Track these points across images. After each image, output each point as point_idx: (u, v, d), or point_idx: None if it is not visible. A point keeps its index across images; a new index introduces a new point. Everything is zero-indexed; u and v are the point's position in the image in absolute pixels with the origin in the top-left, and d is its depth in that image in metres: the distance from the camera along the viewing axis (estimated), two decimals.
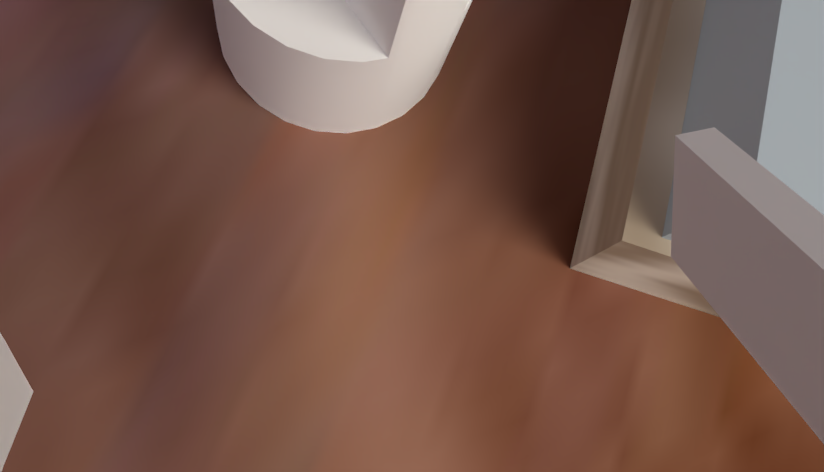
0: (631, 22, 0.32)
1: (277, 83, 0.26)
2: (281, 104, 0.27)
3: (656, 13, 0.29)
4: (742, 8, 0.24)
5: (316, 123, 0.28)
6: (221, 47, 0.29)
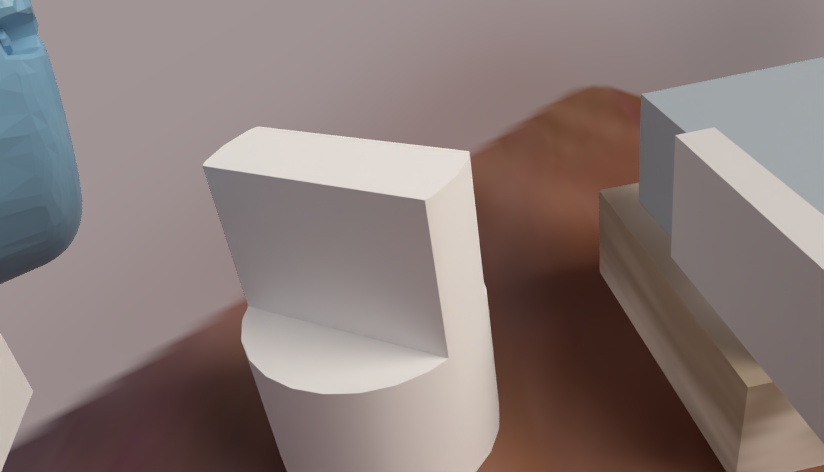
0: (617, 288, 0.35)
1: (366, 458, 0.26)
2: None
3: (628, 255, 0.33)
4: None
5: None
6: None
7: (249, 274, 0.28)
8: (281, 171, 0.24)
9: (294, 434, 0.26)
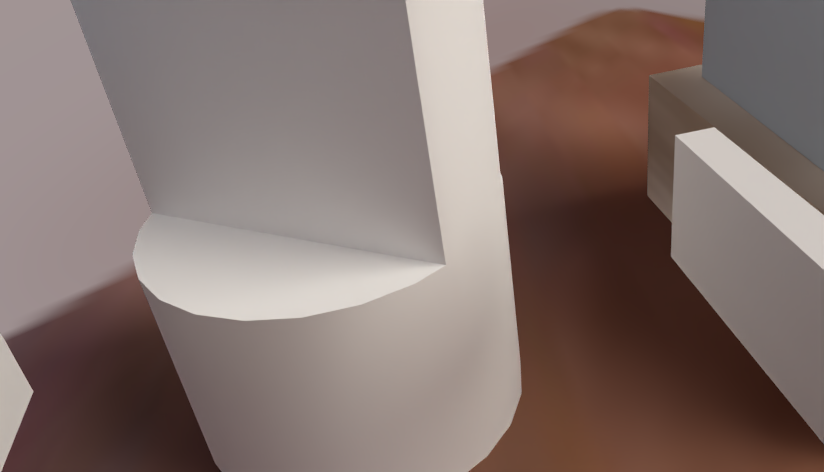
0: None
1: (319, 428, 0.17)
2: None
3: None
4: (769, 24, 0.20)
5: None
6: None
7: (147, 158, 0.18)
8: None
9: (210, 394, 0.17)
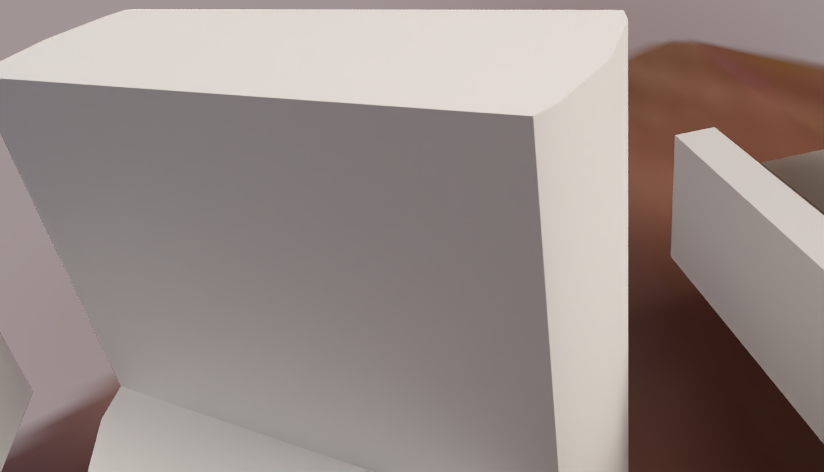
0: None
1: None
2: None
3: None
4: None
5: None
6: None
7: (111, 324, 0.13)
8: (143, 75, 0.10)
9: None
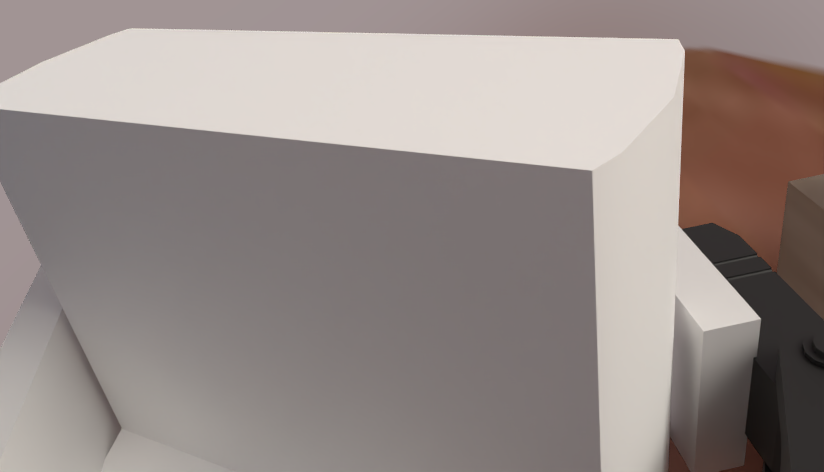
0: None
1: None
2: None
3: None
4: None
5: None
6: None
7: (111, 365, 0.12)
8: (147, 108, 0.09)
9: None
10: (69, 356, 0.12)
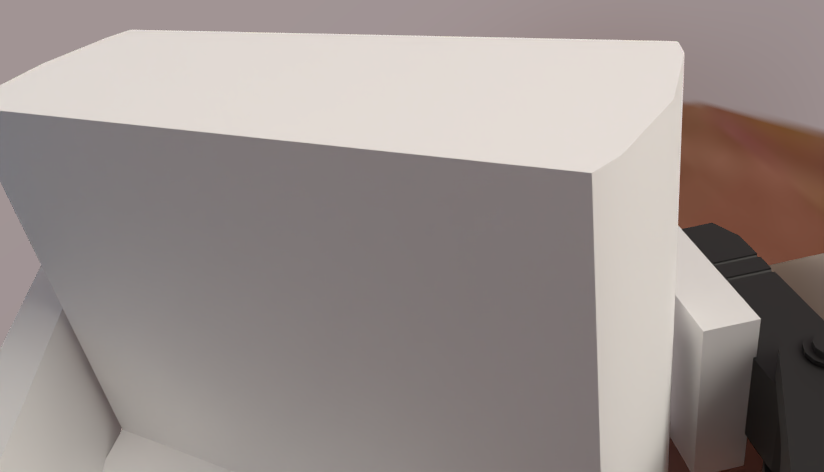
0: None
1: None
2: None
3: None
4: None
5: None
6: None
7: (112, 366, 0.12)
8: (147, 109, 0.09)
9: None
10: (69, 355, 0.12)
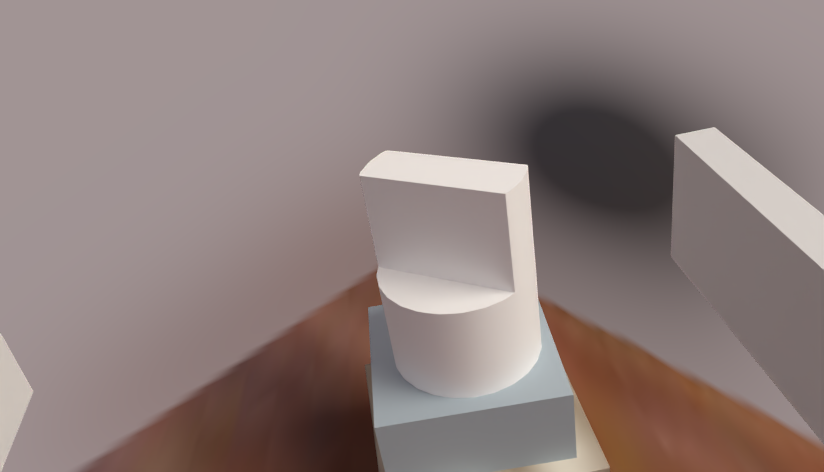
0: None
1: (462, 357, 0.41)
2: (468, 378, 0.42)
3: None
4: None
5: (493, 382, 0.42)
6: (413, 382, 0.44)
7: (382, 245, 0.43)
8: (412, 178, 0.40)
9: (415, 344, 0.42)
10: None
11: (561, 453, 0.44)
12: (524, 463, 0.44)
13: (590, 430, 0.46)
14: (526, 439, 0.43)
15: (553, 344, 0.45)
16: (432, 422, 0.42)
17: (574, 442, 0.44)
